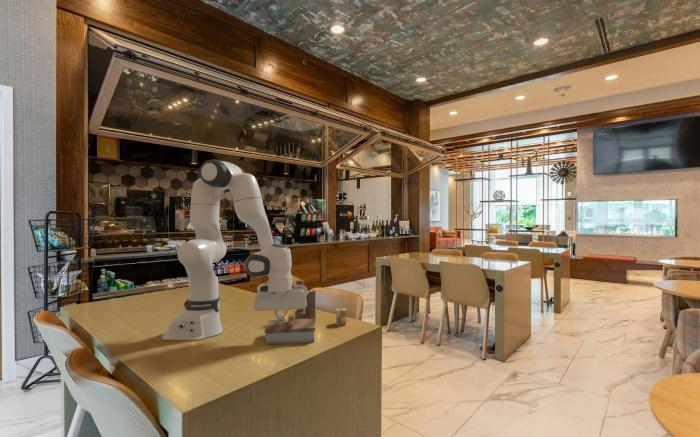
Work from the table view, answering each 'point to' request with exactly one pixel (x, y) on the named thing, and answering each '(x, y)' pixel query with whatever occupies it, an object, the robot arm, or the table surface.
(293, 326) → the lid
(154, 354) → the table surface
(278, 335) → the grey shallow tray
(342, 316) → the beige block
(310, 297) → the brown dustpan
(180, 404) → the table surface
